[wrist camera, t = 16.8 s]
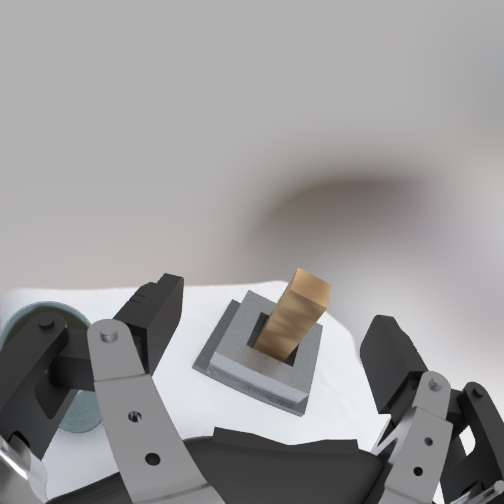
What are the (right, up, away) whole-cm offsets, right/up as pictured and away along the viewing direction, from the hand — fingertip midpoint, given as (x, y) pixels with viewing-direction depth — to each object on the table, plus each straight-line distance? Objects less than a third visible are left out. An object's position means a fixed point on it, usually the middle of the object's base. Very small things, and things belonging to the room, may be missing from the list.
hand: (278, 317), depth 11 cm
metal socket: (0, -13, +27) cm, 30 cm away
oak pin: (+1, -12, +27) cm, 29 cm away
